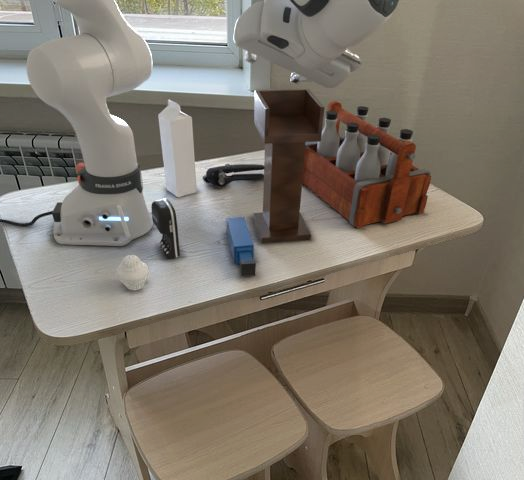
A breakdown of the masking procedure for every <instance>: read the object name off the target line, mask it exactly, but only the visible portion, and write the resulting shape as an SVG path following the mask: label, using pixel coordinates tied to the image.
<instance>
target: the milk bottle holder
mask: <svg viewBox="0 0 524 480" xmlns="http://www.w3.org/2000/svg"><path fill="white" fill-rule="evenodd" d="M342 106H343V105H342V103H341V102H339V101H337V100H332V101H330V102H329V103H328V104H327V109H326V112H325V118H324V126H323V128H322V136H321V141H318V142H306V144H305V156H304V168H303V179H302V185H304V186H306V187H307V188H308V189H309V190H310V191H312V192H313V193H314V194H315V195H317V197H319V198H320V199H322V200H323V201H324V202H325V203H327V204H328V205H329V206H330V207H331V208H333V209H334V211H336V212H338V214H340V215H341V216H342V217H343V218H344V219H346V220H347V221H348V223H349V224H350V225H351V226H353V227H355V228H357V229H360V228H364V226H367V225H371V224H375V223H379V222H382V223H383V224H390V223H393V222H394V223H395V222H398V221H401V220H402V219H403V217H404V216H405V217H406V216H409V215H413V214H418V215H419V214H423V213H424V212H425V209H426V206H427V203H428V197H429V196H428V195H427V194H428V190H429V187H430V185H431V180H432V176H431V172H430V171H429V170H428V169H426V168H422V169H420V168H418V167H417V166H415V165H413V162H414V160H415V159H416V154H415V153H416V149H417V146H416V144H415V143H414V142H412V141H413V137H412V136H413V134H414V131H413V130H412V129H408V128H403V129H400V132H399V136H398V137H397V138H396V137H394V136H392V135H390V134H389V132H390V130H391V126H390V125H391V122H392V119H390V118H388V117H380V118H378V124H377V125H376V126H374V125H372V124H371V123H369V122H367V120H368V118H369V113H368V112H369V107H367V106H364V105H360V106H359V105H358V106H357V107H356V113H355V115H354V114H353V113H351V112H349V111H348V110H346V109H344V108H343V107H342ZM341 123H343V124H344V125H346V129H345V131H344V133H345V135H342V136H340V133H339V132H340V125H341Z"/></svg>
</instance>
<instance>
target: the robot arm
mask: <svg viewBox="0 0 524 480" xmlns="http://www.w3.org/2000/svg"><path fill="white" fill-rule="evenodd" d="M51 1H52V2H53V3H55V4H56V5H57V6H59V7H61V8H63V9H65V10H67V11H69V13H70V14H71V15H72V17H73V19H74V20H75V23H76V25H77V27H78V31H79V34H74V35H70V36H69V35H68V36H63V37H60V38H59V37H58V38H53V39H50V40H48V41H45V42H44V43H42V44H39V45H38V46H36V47H34V48H32V49H31V50H30V51H29V52H28V56H27V59H26V74H27V79H28V82H29V85H30V86H31V88H32V90H33V92H34V93H35V95H36V96H37V97H38V98H39V99H40V100H41V101H42V102H43V103H45V104H46V105H47V106H49V107H51V108H52V109H54V110H56V111H58V112H59V113H60V114H62V116H64V118H65V119H66V120H67V121H68V123H69V124H70V125H71V127H72V129H73V131H74V133H75V136H76V138H77V141H78V145H79V148H80V152H81V155H82V160H83V162H78V163H77V164H76V169H75V170H76V171H75V172H76V178H77V182H78V185H77V186H76V187H75V188H74V189H72V191H71V192H69V193H68V194H67V195H66V196H65V197H64V198H63V200H62V202H61V201H60V202H56V204H55V206H54V208H53V210H51V211H46V212H42V213H40V214H38V215H36V216H35V217H34V218H32V219H31V221H30V222H25V223H22V222H15V221H12V220H8V219H3V218H0V223H2V224H3V223H4V224H8V225H11V226H18V227H23V228H24V227H30V226H33V225H34V224H35V223H36V222H37V221H38V220H39V219H41V218H44V217H47V216H51V215H52V218H53V222H54V224H53V228H52V232H53V238H54V240H55V242H56V243H58V244H59V245H73V246H75V245H76V246H105V247H107V246H108V247H124V246H127V245H128V244H129V243H130V242H132V241H133V240H135V239H138V238H139V237H142V236H144V235H145V234H147V233H148V232H149V231H150V230H151V229H152V228H153V225H154V223H153V219H152V215H151V214H150V212H149V209H148V206H147V204H146V200H145V196H144V192H143V190H144V181H143V176H142V170H141V166H140V164H139V162H138V159H137V152H136V144H135V138H134V132H133V130H132V128H131V127H130V125H128V124H127V122H126V121H125V120H123V119H121V118H120V117H117V116H115V115H113V114H111V113H110V110H109V108H108V104H107V99H108V98H110V97H111V98H112V97H114V96H115V97H116V96H118V95H122V94H124V93H129V92H131V91H133V90H136V89H137V88H138V87H140V86H141V85H143V84H144V83H146V82H147V81H149V79H150V77H151V76H152V73H153V64H154V63H153V56H152V52H151V49H150V47H149V44H148V43H147V41H146V40H145V38H144V37H143V36H142V35H141V34H140V33H139V32H138V31H136V30H135V29H134V28H133V27H132V26H131V25H130V24H129V23H128V21H127V20H126V19H125V17H124V15H123V14H122V12H121V10H120V8H119V6H118V4H117V2H116V0H51ZM399 1H400V0H264V1H263V0H259V1H256V2H255V3H253V4H252V5H250V6H249V7H248V8H247V9H246V10H244V12H242V13H241V15H239V16H238V18H237V20H236V22H235V25H234V30H233V43H234V45H235V46H236V47H237V48H240V49H242V50H244V51H245V53H244V61H245V62H247V63H249V64H252V65H253V64H254V63H256V62H257V58H258V57H259V58H262V59H263V60H266V61H268V62H270V63H272V64H275V65H276V66H279V67H281V68H283V69H285V70H286V71H287V70H288V71H290V72H291V75H290V77H291V78H290V82H292V83H293V84H296V85H299V84H301V83H308V82H309V83H310V82H313V83H316V84H317V85H320V86H322V87H324V88H326V89H333V88H334V89H335V88H336V87H338V86H339V85H341V84H342V83H343V82H344V81H346V80H347V78H348V77H350V74H351V73H353V72H355V71H357V70H359V69H360V68H361V66H362V60H361V59H360V56H359V55H358V54H357V53H355V52H352V51H351V50H350V49H349V48H352V47H356V45H358V44H360V43H361V42H364V41H365V40H366V39H368V38H369V37H370V36H372V35H373V34H375V33H376V32H377V31H378V30H379V29H380V28H381V27H382V26H384V24H385V23H387V22H388V21H389V19H390V18H391V17H392V15H393V14H394V12H395V10H396V9H397V7H398V4H399Z"/></svg>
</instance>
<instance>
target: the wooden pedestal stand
mask: <svg viewBox="0 0 524 480" xmlns="http://www.w3.org/2000/svg"><path fill="white" fill-rule="evenodd" d="M253 100H254V101H253V102H254V105H253V107H254V108H253V109H254V110H253V115H254V116H253V124H254V126H255V128H256V129H257V132H258V134H259V136H260V138H261V140H262V142H263V144H264V159H263V160H264V162H263V165H264V169H263V174H264V178H263V191H262V192H263V193H262V195H263V196H262V212H260V211H259V212H252V220H253V223H254V226H255V229H256V232H257V235H258V238H259V240H260V243H261V245H263V244H276V243H290V242H302V241H304V242H305V241H311V239H312V234H311V231H310V230H309V228H308V226H307V224H306V223H307V222H306V221H305V220H304V218H303V216H302V214H301V201H302V191H303V190H302V189H303V184H302V179H303V168H304V156H305V144H306V142H318V141H321V136H322V131H323V127H324V126H323V125H324V115H325V106H324V104H322V102H321V101H320V100H319V99H318V98H317V97H316V95H315V94H314V93H313V92H312V91H311V89H310V88H290V89H289V88H284V89H255V90H254V99H253Z"/></svg>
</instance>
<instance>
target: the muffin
mask: <svg viewBox="0 0 524 480" xmlns="http://www.w3.org/2000/svg"><path fill="white" fill-rule="evenodd" d="M149 273H150V271H149V267H148V265H147V264H146V263H145V262H143V261H141V259H140V258H139V256H137V255H135V254H128V255H125V256H123V258H122V259H121V263H120V264H119V265H118V266H117V268H116V276H117V278H118V279H119V281H120V282H121V283H122V284H123V286H125V287H126V288H127V289H128V290H130V291H139V290H141V289H142V288H143V287H144V285H145V283H146V281H147V279H148V275H149Z"/></svg>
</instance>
